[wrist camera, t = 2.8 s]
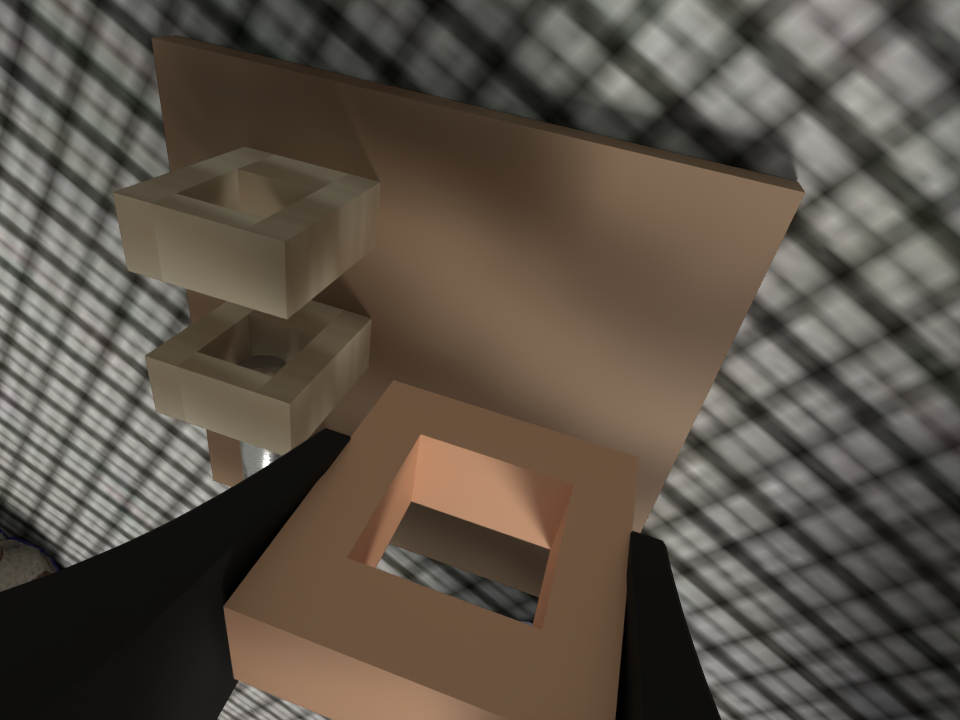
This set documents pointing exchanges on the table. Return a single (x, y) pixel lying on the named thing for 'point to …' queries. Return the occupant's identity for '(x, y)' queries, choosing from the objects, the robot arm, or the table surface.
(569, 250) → the cradle
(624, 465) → the spacer
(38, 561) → the decorative bottle
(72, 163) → the table surface
